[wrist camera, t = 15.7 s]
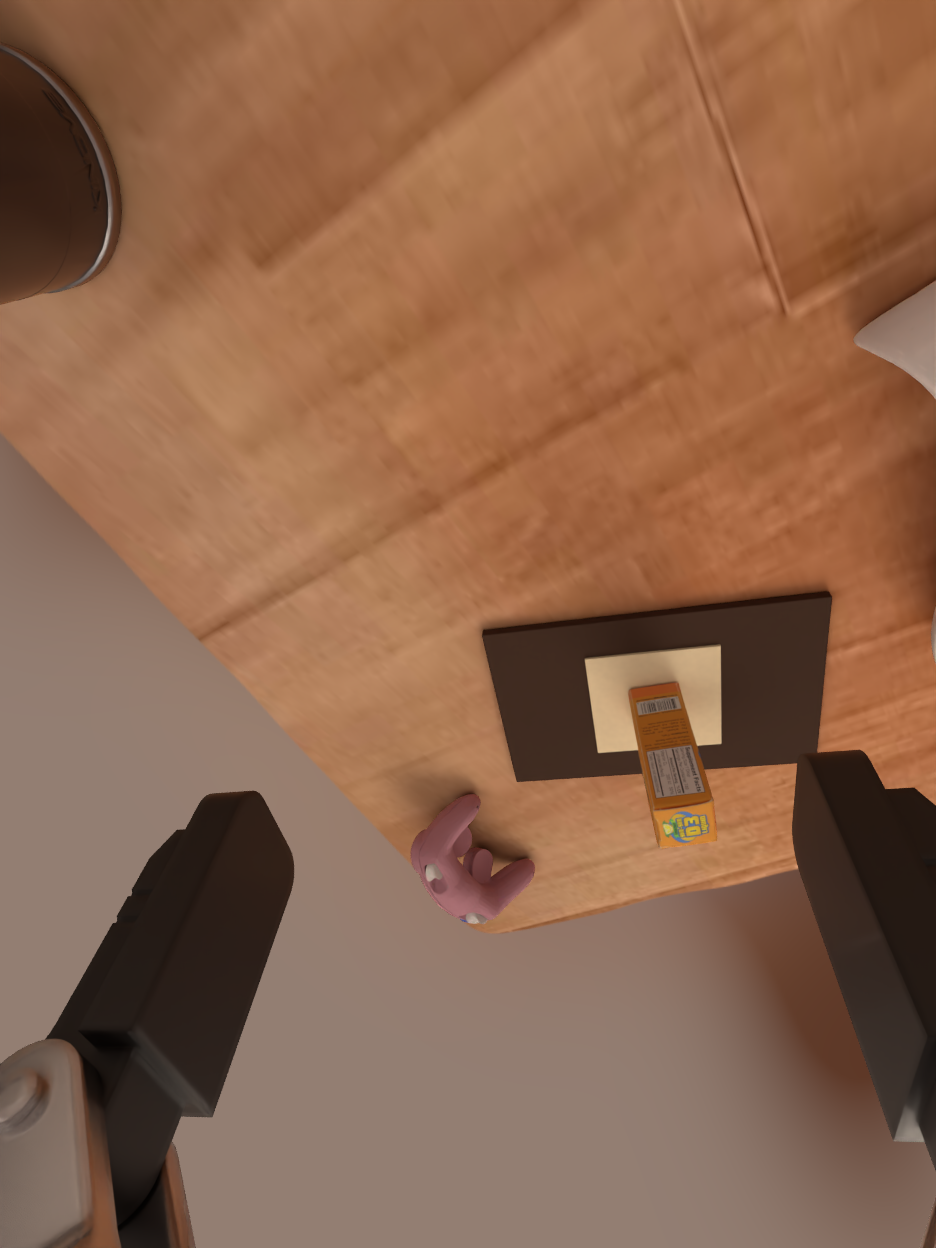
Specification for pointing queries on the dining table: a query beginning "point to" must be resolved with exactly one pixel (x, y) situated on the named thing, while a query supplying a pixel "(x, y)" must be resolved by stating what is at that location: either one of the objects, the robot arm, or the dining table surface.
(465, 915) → the video game controller
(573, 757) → the desk pad
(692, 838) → the supplement box
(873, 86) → the dining table surface
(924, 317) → the spoon rest
